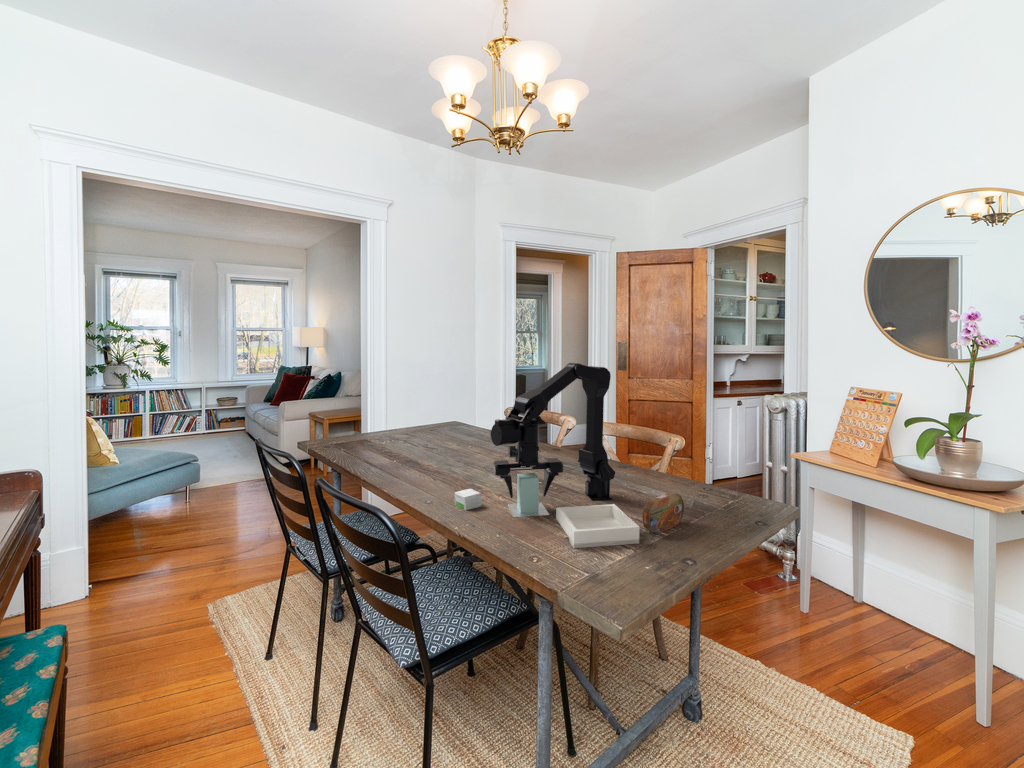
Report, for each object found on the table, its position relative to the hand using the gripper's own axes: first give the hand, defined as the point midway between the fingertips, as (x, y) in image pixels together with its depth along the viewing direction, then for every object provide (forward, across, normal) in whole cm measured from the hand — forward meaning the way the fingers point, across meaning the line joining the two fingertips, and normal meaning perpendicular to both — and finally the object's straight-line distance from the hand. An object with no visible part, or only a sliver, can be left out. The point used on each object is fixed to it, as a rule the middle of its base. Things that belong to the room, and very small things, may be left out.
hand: (527, 497), depth 135 cm
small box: (+5, +16, -6) cm, 18 cm away
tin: (+5, -32, +16) cm, 36 cm away
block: (+4, 0, 0) cm, 4 cm away
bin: (+4, -14, +16) cm, 22 cm away
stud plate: (+4, 0, 0) cm, 4 cm away
